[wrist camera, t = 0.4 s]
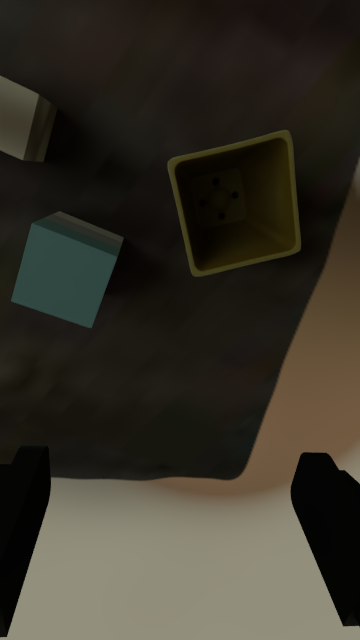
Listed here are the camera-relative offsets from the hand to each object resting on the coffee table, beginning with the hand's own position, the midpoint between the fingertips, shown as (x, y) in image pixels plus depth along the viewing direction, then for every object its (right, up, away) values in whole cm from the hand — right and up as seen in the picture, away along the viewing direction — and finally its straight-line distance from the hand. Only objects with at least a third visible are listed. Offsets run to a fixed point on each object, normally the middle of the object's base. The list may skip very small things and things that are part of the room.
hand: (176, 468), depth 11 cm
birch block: (-13, +22, +19) cm, 32 cm away
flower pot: (+4, +16, +23) cm, 28 cm away
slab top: (-9, +9, +18) cm, 22 cm away
